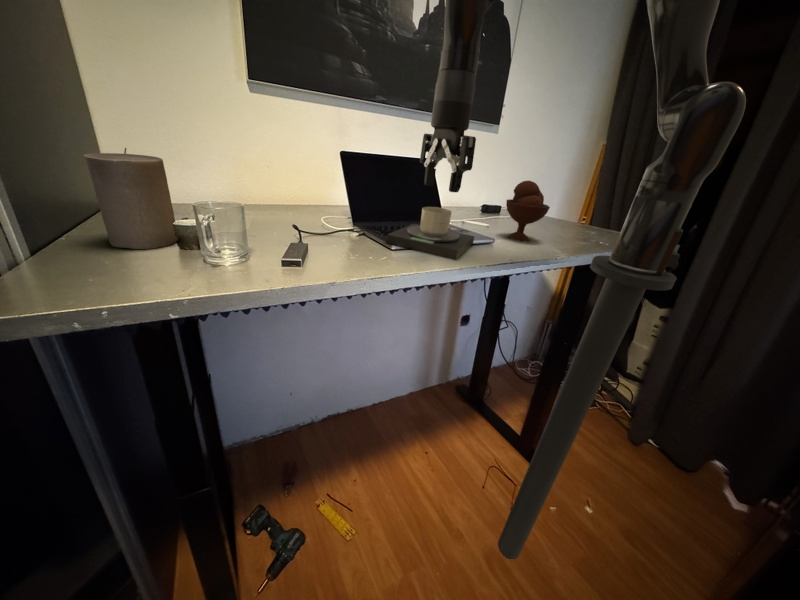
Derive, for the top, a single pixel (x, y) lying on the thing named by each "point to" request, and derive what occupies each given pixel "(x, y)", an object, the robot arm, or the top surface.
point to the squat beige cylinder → (435, 220)
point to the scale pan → (448, 237)
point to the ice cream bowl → (526, 207)
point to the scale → (430, 243)
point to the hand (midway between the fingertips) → (440, 188)
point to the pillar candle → (133, 199)
